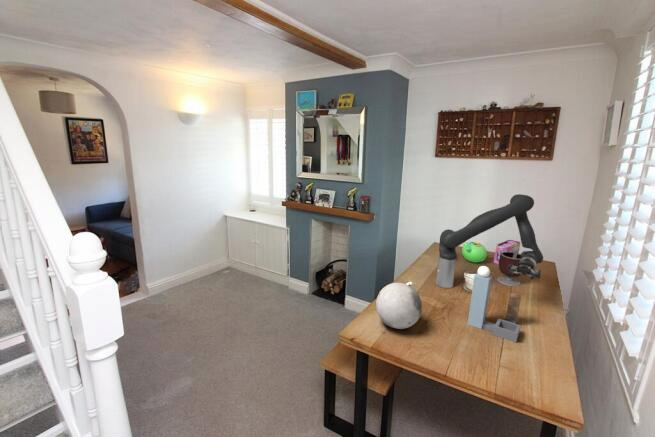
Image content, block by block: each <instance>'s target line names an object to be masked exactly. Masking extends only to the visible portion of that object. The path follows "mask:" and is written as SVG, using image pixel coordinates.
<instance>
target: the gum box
mask: <svg viewBox="0 0 655 437" xmlns="http://www.w3.org/2000/svg"><path fill="white" fill-rule="evenodd" d="M520 246H521V241H519V240H513V239H507V240H505V241H503V242H499V243H498V244H496V246H495V251H494V258H493V262H492V263H494V264H497V265H499V258H500V255H501V253H502V252H513V253H514V252H515V251H516V250H517V249H518V248H519V249H520ZM518 254H520V250H519V251H518Z"/></svg>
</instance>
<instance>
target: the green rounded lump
mask: <svg viewBox="0 0 655 437" xmlns="http://www.w3.org/2000/svg"><path fill="white" fill-rule="evenodd" d="M461 245H463V246H462V248H461V255H462V256H463V257H464V259H466V261H468V262H470V263H481V262H483V261H484V260H485V259H487V257H488V251H487V249H486V247H485V246H484V245H483V244H481V242H480V241H476V242H475V241H469V242H467V241H465V242H464V243H462V244H461Z"/></svg>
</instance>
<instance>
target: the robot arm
mask: <svg viewBox="0 0 655 437" xmlns="http://www.w3.org/2000/svg"><path fill="white" fill-rule="evenodd" d="M534 206H535V200H534V198H533V197H531V196H530V195H528V194H527V195H526V194H521V193H518V194H514V195H513V196H511V198H510V200H509V203H508V204H506V205H504V206H501V207H498V208H495V209H494V208H493V209H490V210H488V211H485V212H483V213H481V214H479V215H477V216H475V217H474V218H473V219H472V220H471V221H469V223H468V224H466V225H465V226H464V227H463V228H460V229H457V230H453V229H445V230H443V231H442V232H441V234H440V236H439V247H438V252H439V257H438V263H437V264H438V265H437V266H438V267H437V269H436V279H435V286H438V287H440V288H442V289H443V288H444V289H451V288H453V287H454V278H455V272H456V271H455V270H456V262H457V251H456V248H458V247H459V246H461V245H463V244H462V243H464V242H467V241H469V240H470V239H472V238H474V237H477V236H478V235H481V234H482V233H485V232H486V231H489V230H491V229H493V228H495V227H496V226H498V225H500V224H502V223H504V222H506V221H508V220H509V219H511V218H514V217H515V222H516V224H517V227H518V234H519V237H520V244H521V246H522V247H523V248H525V249H530V250H525V251H522V252H521V253H520V254H521V260H520V262H519V263H518V265H517V266H513V265H512V264H509V265H508V266H507V271H508V272H509V274H510V275H512V274H513V273H521V275H524V276H528V277H530V280H531V281H532V280H535V278H536V279H541V274H542V270H541V269H537V270H536V266H537V264H541V263H543V261H544V256H543V253H542V251H541V250H540V248H539V245H538V244H537V239H536V233H535V230H534V229H533V228H534V227H533V226H532V224H531V221H530V220H529V216H528V213H527V212H529V211H530V210H532V208H534Z"/></svg>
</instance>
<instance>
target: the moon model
mask: <svg viewBox="0 0 655 437" xmlns="http://www.w3.org/2000/svg"><path fill="white" fill-rule="evenodd" d="M376 297H377V298H376V299H375V300H376V301H375V302H376V303H375V305H376V306H375V307H376V312H377V315H378V317H379V318H380V320H381V321H382V322H383V323H384V324H385V325H387V326H388V327H390V328H393V329H397V330H398V329H399V330H403V329H407V328H410V327H412V326H414V325H415V323H417V322H418V320H419V318H420V317H421V314H422V311H423V310H422V309H423V306H422V304H423V303H422V300H421V297H420V295H419V293H418V292H417V291H416V290H415V288H414V287H410V286H409V285H407V283H403V282H391V283H389V284H387V285H386V286H384V287H383V288H382V289H381V290H380V291H379V293H378V295H377V296H376Z"/></svg>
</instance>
